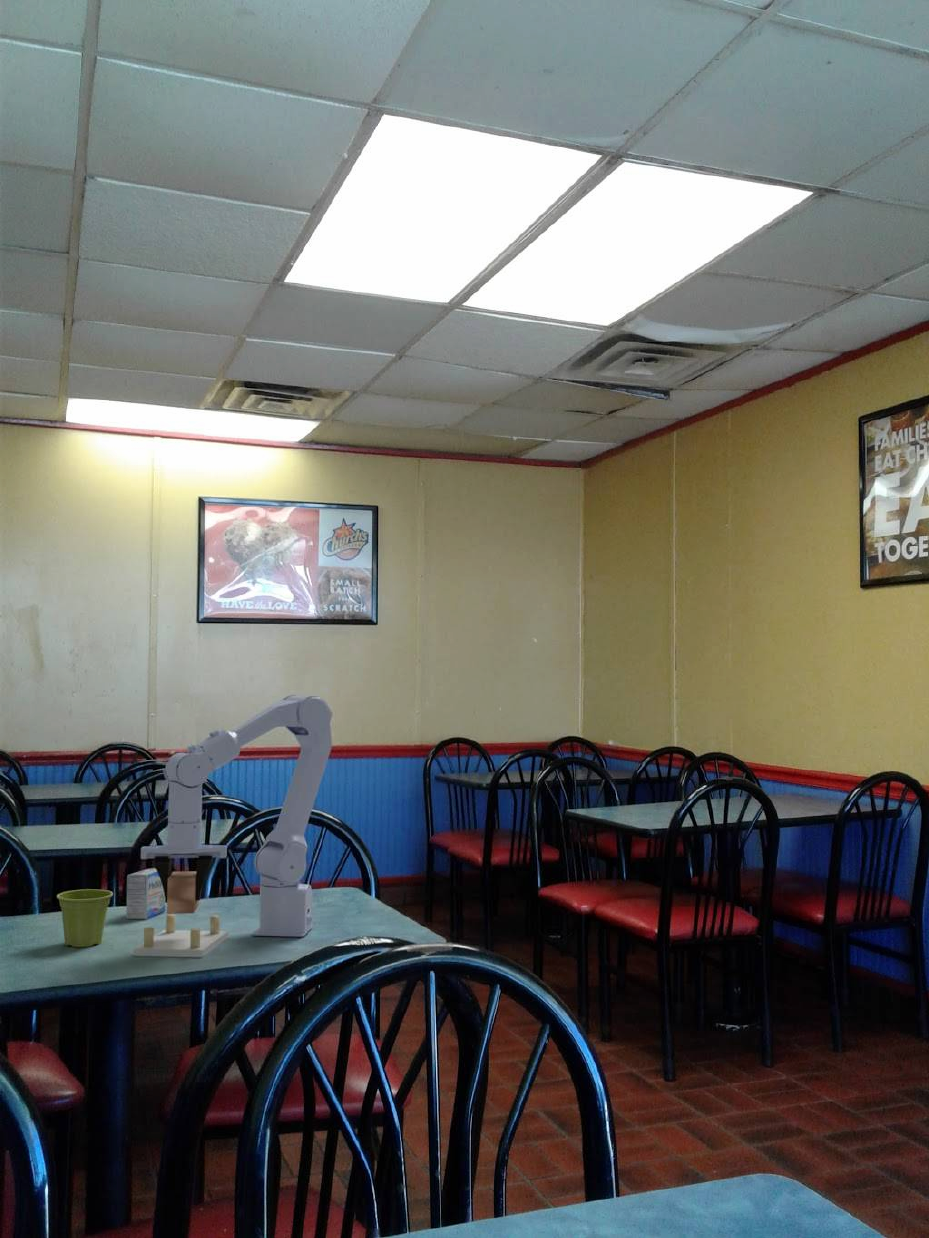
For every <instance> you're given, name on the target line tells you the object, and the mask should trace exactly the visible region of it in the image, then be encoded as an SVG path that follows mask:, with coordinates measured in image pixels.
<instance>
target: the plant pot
mask: <svg viewBox="0 0 929 1238" xmlns="http://www.w3.org/2000/svg"><path fill="white" fill-rule="evenodd" d="M113 896H114V892H112V891H110V890H108V889H107V890H106V889H91V888H90V889H89V888H86V889H76V890H67V891H63V892H61V893H58V894H57V895H56V899H58V901H59V907H60V908H61V915H62V916H61V917H62V926H63V928H62V929H63V936H64V945H65V946H67V947H68V946H72V947H74V948H89V947H92V946H94V945H100V944H101V943H102V942H103V936H104V930H105V929H104V928H105V923H106V917H107V912H108V906H109V904H110V901H111V898H112V897H113Z"/></svg>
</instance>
